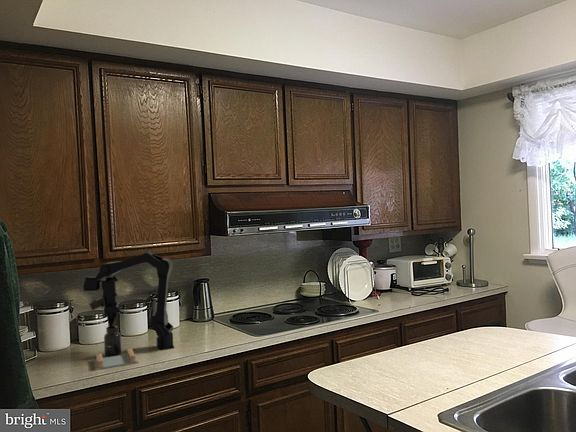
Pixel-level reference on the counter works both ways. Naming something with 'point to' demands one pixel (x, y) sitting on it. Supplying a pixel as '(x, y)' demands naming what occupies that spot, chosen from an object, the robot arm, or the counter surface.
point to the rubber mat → (115, 361)
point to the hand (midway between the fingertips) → (110, 325)
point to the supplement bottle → (112, 342)
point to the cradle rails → (128, 350)
